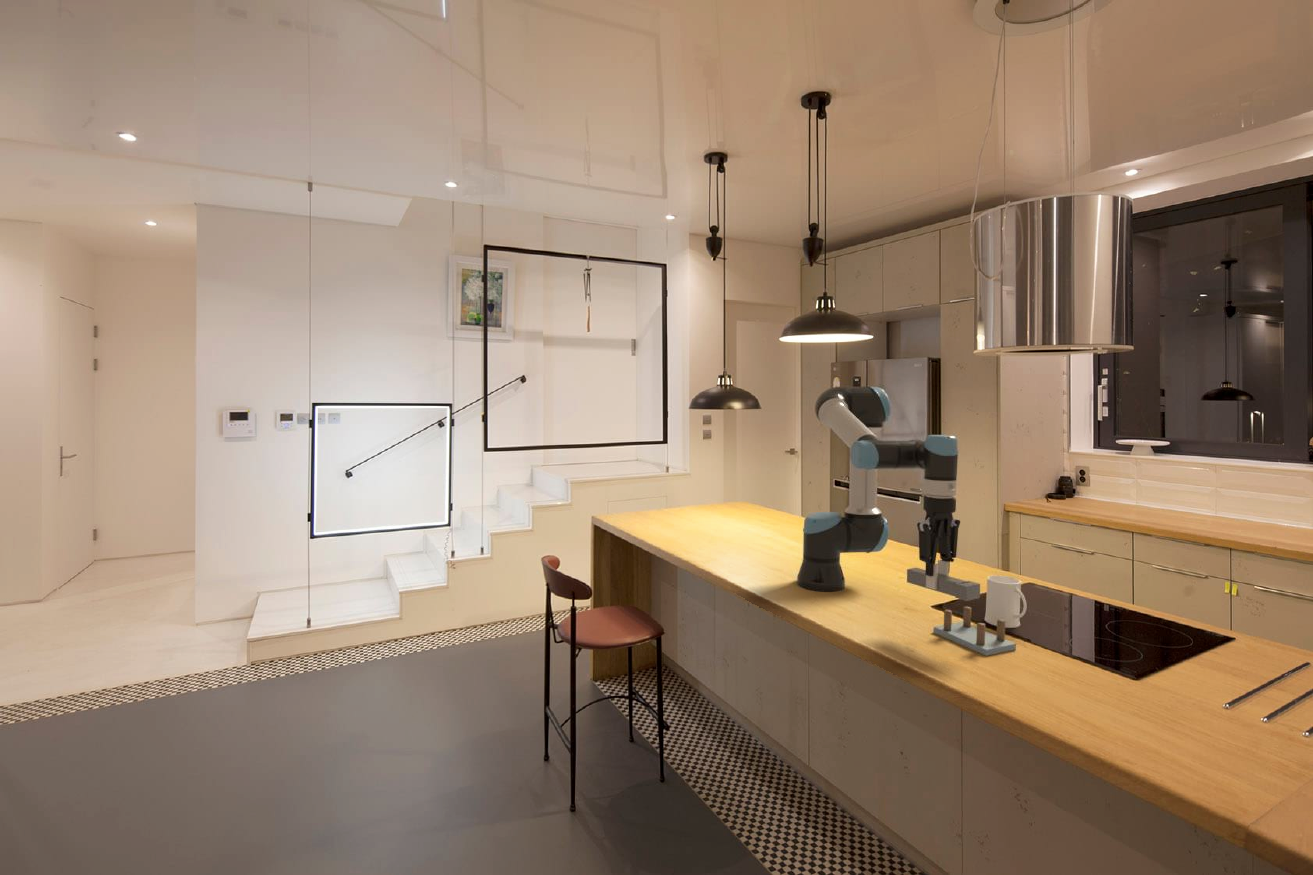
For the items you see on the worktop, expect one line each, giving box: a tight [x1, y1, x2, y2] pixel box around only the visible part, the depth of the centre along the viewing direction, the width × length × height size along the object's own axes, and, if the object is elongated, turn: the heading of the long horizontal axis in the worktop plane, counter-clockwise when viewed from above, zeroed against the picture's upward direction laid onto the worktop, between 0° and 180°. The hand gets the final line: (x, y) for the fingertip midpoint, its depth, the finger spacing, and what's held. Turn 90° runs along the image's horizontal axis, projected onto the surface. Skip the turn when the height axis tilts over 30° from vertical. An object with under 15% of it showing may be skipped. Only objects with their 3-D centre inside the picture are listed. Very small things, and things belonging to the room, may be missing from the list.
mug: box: [984, 574, 1028, 629], centre depth 170 cm, size 12×8×12 cm
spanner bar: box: [906, 567, 981, 602], centre depth 159 cm, size 18×5×4 cm, turn 28°
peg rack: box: [932, 606, 1017, 657], centre depth 159 cm, size 16×10×6 cm, turn 22°
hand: (937, 586), depth 160 cm, fingers closed on spanner bar, 3 cm apart
